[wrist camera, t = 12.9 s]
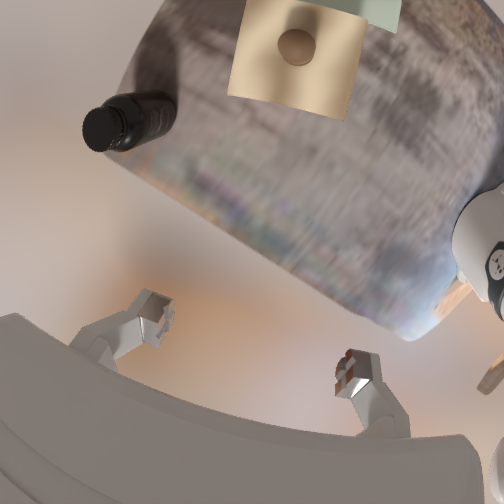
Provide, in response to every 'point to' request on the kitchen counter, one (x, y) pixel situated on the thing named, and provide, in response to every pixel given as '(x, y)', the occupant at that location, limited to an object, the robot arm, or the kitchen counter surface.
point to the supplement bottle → (128, 121)
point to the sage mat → (368, 10)
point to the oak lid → (298, 56)
